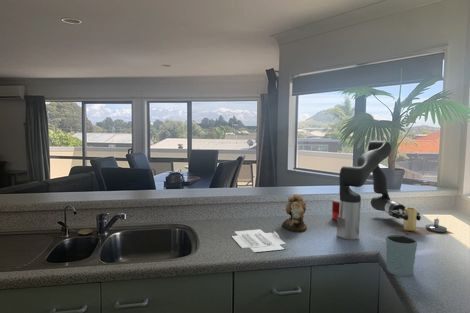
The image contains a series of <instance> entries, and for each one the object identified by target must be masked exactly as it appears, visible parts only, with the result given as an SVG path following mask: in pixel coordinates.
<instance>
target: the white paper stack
mask: <svg viewBox="0 0 470 313" xmlns="http://www.w3.org/2000/svg"><path fill="white" fill-rule="evenodd" d="M234 233H235V235H231V236H230V237H231V238H233V240H234V241H235V242H236V243H237V244H238V245H239V246H240V248H241V249H250V251H252V252H253V253H261V252H268V251H270V252H271V251H280V250H285V248H284V247H283V246H282V245H286V244H287V243H286V242H285V241H283V240H282V239H281V238H280V236H279V233H278V232H276V231H275V230H274V231H273V232H264V231H263V230H262V229H248V230H247V229H245V230H236V231H234Z"/></svg>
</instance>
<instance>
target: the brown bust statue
mask: <svg viewBox="0 0 470 313" xmlns="http://www.w3.org/2000/svg"><path fill="white" fill-rule="evenodd" d="M287 200H288V201H287V203H286V206H285V212H286V214H287V215H289V216H290V217H289V218H288V219H285V220H284V221H283V222H282V226H281V227H283V229H284V230H286V231H288V232H293V233H303V232H306V231H307V229H308V226H307V225H306V224H305V222H304V218H305V217H304V216H305V215H304V214H305V213H306V211H307V204H306V202H305V200H304V198H303V196H302V195H301V194H299V193H296V194H295V193H294V194H293V195H291V196H289V197H288V199H287Z"/></svg>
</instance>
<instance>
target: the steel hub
mask: <svg viewBox="0 0 470 313" xmlns="http://www.w3.org/2000/svg"><path fill="white" fill-rule="evenodd" d="M439 224H440V219H439V218H438V217H436V218H434V219H433V224H431V223H430V224H425V226H424V227H425V229H426V230H428V231H431V232H436V233H446V232H447V231H448V228H447V227H446V226H443V225H439Z"/></svg>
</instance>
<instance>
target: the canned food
mask: <svg viewBox="0 0 470 313" xmlns="http://www.w3.org/2000/svg"><path fill="white" fill-rule="evenodd" d="M331 207H332V210H331V211H332V212H331V219H332V220H333V221H335V222H337V216H339V207H340V198H333V199H332V206H331Z"/></svg>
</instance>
